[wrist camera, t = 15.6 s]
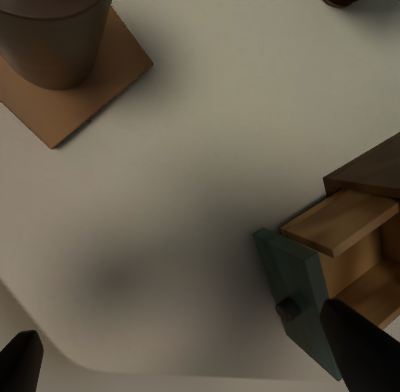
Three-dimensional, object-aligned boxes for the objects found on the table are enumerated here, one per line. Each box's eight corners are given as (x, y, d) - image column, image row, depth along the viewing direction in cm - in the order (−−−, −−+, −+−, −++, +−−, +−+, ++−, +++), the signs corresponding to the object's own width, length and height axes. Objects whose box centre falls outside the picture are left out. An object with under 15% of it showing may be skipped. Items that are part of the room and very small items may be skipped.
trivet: (52, 149, 17) (51, 150, 16) (-81, 22, 14) (-92, 14, 13) (150, 67, 18) (154, 63, 17) (50, -65, 15) (49, -78, 14)
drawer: (276, 342, 26) (327, 392, 21) (239, 241, 22) (289, 271, 17) (380, 261, 30) (443, 286, 25) (363, 165, 27) (433, 171, 22)
